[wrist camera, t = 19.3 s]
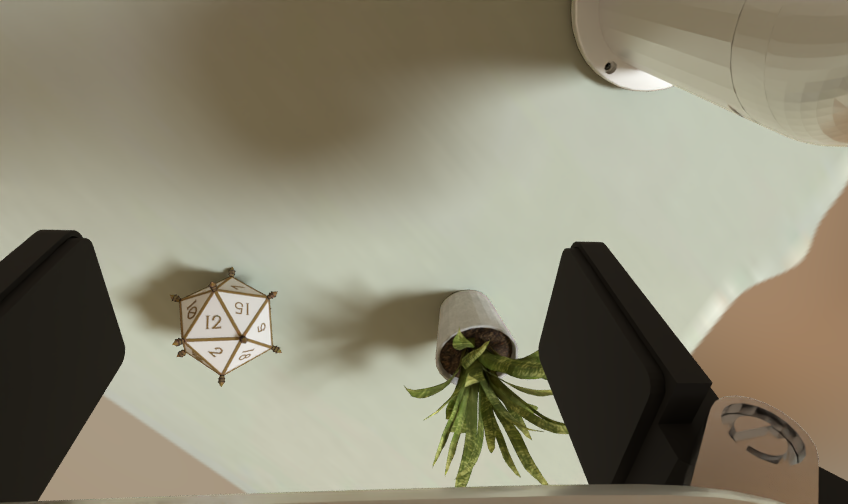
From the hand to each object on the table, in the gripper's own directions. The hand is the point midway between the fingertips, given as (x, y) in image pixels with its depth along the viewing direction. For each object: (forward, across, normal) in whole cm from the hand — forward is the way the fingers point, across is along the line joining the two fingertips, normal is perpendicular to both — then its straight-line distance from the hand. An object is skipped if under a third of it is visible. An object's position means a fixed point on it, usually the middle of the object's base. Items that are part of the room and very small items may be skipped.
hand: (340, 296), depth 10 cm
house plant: (+28, -10, +24) cm, 39 cm away
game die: (+28, +11, +21) cm, 37 cm away
